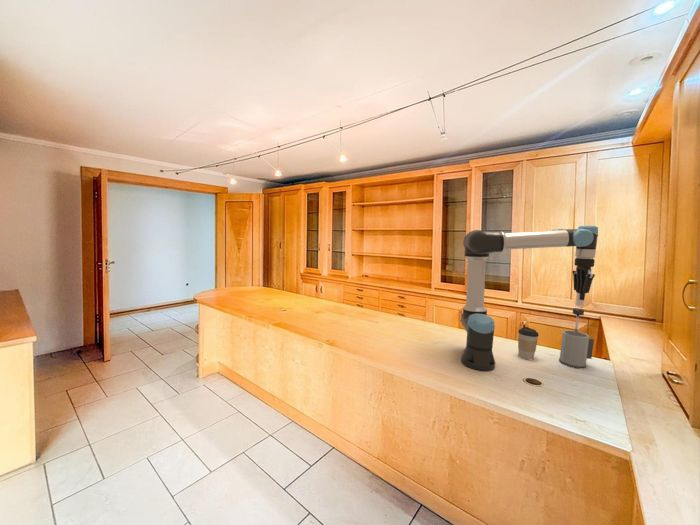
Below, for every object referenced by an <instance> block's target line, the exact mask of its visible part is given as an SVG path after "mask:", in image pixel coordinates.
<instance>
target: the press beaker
mask: <svg viewBox="0 0 700 525" xmlns="http://www.w3.org/2000/svg"><path fill="white" fill-rule="evenodd" d="M574 333H575V330H571V329H570V330H569V329H566V330H562V333H561V334H562V335H561V344H560V353H559V354H560V355H559V358H558V362H559V361H560V362H561V364H562V365H563V366H566V365H567V367H569V366H570V367H569V368H573V367H574V369H579V368H583V369H586V368H587V359H588V360H589V359H590V360H592V357H593V349H594V342H595V338H593V337H590V335H589V334H587V333H585V332H581V331H578V330H577V336H573V335H574ZM560 362H559V363H560Z"/></svg>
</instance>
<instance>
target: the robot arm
mask: <svg viewBox="0 0 700 525" xmlns="http://www.w3.org/2000/svg"><path fill="white" fill-rule="evenodd" d="M598 237H599V227H598V226H596V225H579V226H578V228H576V229H573V228H567V229H566V228H565V229H563V228H561V229H560V228H554V229H551V230H540V231H539V230H538V231H535V230H534V231H521V232H520V231H519V232H503V231H502V230H500V231H499V230H497V231H493V230H486V229H485V230H484V229H482V230H481V229H480V230H479V229H475V230H471V231H469V232H467V234H465V236H464V238H463V241H462V242H463V244H462V245H463V248H464V257H465V259H466V260H467V263H466V264H467V265H466V266H467V267H466V269H467V270H466V295H465V296H466V297H465V299H466V300H465V302H466V303H465V305H463V306H462V314H461V318H460V323H461V325H462V327H463V329H464V330H465V331H466V341H465V343H466V344H465V348H464V350H463V352H462V354H461V358H460V361H461V364H463V365H464V366H466V367H468V368H470V369H473V370H475V371H476V370H477V371H483V372H486V371H487V372H488V371H489V372H490V371H492V370H494V369H495V368H496V361H495V356H494V353H493V347H494V346H493V345H494V335H495V328H496V327H495V320H494V318H493V317H492V316H489V315H488V309H487V308H486V307H485V286H486V285H485V283H486V281H485V280H486V260H488V259H489V257H490V254H493V253H503V252H504V251H505V250H521V249H523V250H524V249H543V248H562V247H564V248H565V247H566V248H567V247H568V248H569V247H575V255H574V257H575V258H574V263H573V265H574V266H576V268H575V270H572V271H571V272H572V275H573V276H572V277H573V279H572V280H573V290H574V291H575V292H576V296H575V298H576V299H575V306H576V307H581V308H582V307H584V304H585V298H586V297H585V296H586V294H589V293H590V289H591V286H592V283H593V280H594V278H595V277H596V274H595V273H592V268H594V266H595V258H596V251H597V244H598Z"/></svg>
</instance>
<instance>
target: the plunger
mask: <svg viewBox="0 0 700 525" xmlns="http://www.w3.org/2000/svg"><path fill="white" fill-rule="evenodd" d="M572 314H573V315H576V317H575V318H576V319H575V327H574V331H575V333H574V335H573V336H577V331H578V328H579V319H580V316H584V314H585V309H583V308H579V307H573V308H572Z"/></svg>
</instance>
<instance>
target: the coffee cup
mask: <svg viewBox="0 0 700 525" xmlns="http://www.w3.org/2000/svg"><path fill="white" fill-rule="evenodd" d="M517 333H518V338H517V339H518V340H517V343H518V344H517V350H518V357H519V358H521V359H523V358H524V360H528V359H532V360H534V358H535V354H536V351H537V345H538V339H539V338H538V337H539V332H538V331H537V330H536V329H534V328H530V327H529V326H524V327H521V328H520V329H518V332H517Z"/></svg>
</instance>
